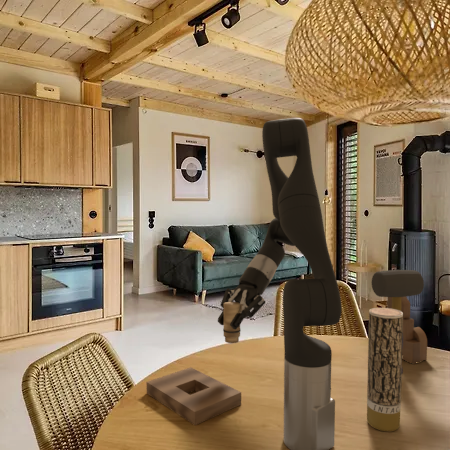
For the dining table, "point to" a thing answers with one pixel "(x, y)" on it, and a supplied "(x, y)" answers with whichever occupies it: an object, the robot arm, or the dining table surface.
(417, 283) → the rubber mallet
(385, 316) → the paper tube
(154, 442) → the dining table surface
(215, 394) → the board
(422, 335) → the wooden toy
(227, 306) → the peg
